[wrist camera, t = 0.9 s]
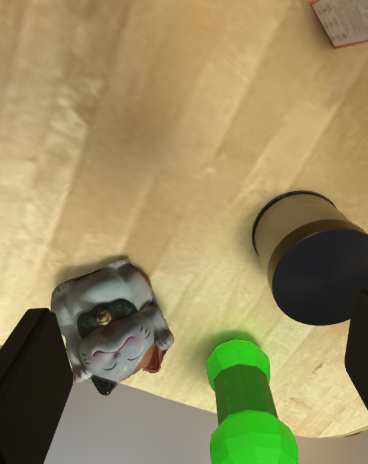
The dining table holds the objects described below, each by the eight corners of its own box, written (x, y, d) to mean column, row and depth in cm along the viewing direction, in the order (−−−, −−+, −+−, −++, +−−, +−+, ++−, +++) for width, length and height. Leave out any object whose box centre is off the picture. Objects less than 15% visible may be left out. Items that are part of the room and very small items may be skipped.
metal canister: (260, 186, 44) (285, 223, 33) (351, 194, 44) (405, 233, 34) (245, 266, 49) (262, 321, 38) (327, 273, 50) (367, 329, 39)
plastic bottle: (275, 361, 57) (336, 553, 34) (217, 381, 59) (238, 576, 36) (253, 318, 53) (305, 501, 30) (192, 341, 55) (198, 529, 32)
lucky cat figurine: (149, 249, 48) (180, 339, 39) (156, 295, 57) (182, 376, 48) (38, 279, 45) (44, 383, 36) (64, 322, 54) (74, 414, 45)
